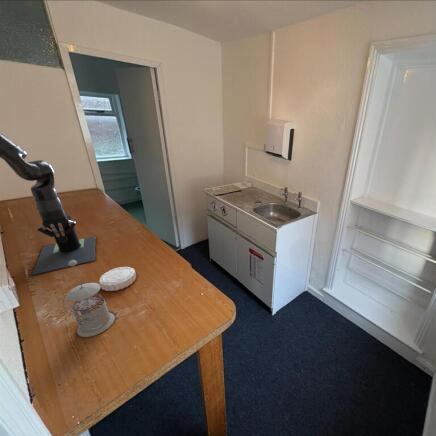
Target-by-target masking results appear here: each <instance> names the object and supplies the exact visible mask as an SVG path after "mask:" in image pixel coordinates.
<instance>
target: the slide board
mask: <svg viewBox="0 0 436 436" xmlns="http://www.w3.org/2000/svg"><path fill="white" fill-rule="evenodd" d="M78 239H79V242H80V244H81V247H80V248H78V249H76V250H74V251H70V252H60V251H59V247H58V245H57V243H53V244H47V245H43V246H42V248H41V251H40V253H39V256H38V259H37V262H36V264H35V267H34V269H33V272H32V276H36V275H41V274H42V275H43V274H45V273H49V272H55V271H57V270H62V269H63V270H64V269H67V268H70V267H72V266H68V262H69V261H71V260H75V261H76V262H77V264H76V265H74V267H75V266H79V265H83V264H88V263H91V262H95V261H96V236H89V237H84V238H78Z"/></svg>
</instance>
